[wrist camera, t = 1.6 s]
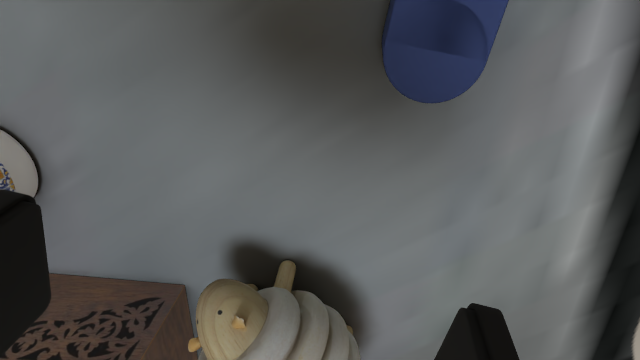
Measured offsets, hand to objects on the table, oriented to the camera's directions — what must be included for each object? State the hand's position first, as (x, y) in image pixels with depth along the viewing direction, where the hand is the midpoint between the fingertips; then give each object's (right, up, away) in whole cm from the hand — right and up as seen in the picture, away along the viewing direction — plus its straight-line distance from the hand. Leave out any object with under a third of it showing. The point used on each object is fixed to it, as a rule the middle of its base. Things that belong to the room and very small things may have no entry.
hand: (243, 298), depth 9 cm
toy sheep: (0, -8, +25) cm, 26 cm away
